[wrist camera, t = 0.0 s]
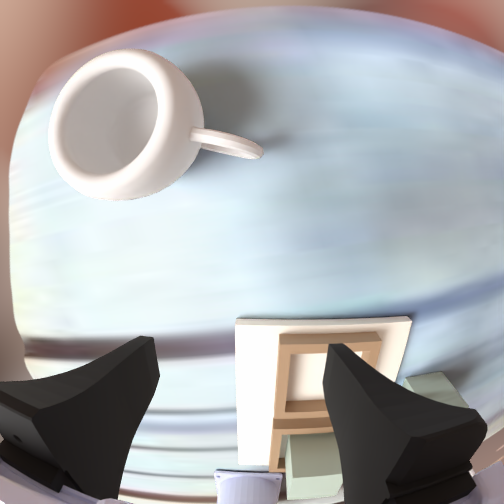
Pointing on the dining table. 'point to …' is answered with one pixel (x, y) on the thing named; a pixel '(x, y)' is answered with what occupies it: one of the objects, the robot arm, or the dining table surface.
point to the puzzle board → (302, 392)
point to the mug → (132, 127)
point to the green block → (435, 388)
